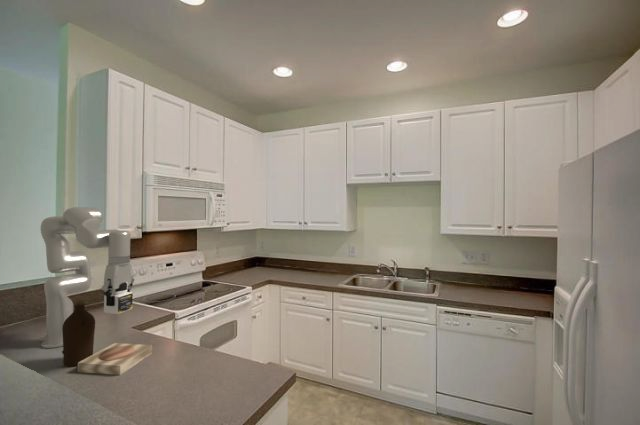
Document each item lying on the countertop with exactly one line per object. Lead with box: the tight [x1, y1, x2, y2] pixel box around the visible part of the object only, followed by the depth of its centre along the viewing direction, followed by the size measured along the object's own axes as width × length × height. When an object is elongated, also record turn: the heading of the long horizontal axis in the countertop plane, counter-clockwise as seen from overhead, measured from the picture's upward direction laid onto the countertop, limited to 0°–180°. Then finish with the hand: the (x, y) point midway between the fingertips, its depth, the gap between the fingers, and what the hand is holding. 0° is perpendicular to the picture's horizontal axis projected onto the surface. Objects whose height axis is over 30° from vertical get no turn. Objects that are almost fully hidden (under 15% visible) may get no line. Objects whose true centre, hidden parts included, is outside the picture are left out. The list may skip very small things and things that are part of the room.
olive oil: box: [61, 299, 96, 368], centre depth 122 cm, size 11×11×25 cm
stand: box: [77, 342, 153, 376], centre depth 122 cm, size 18×18×4 cm
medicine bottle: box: [103, 282, 133, 315], centre depth 122 cm, size 7×7×12 cm
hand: (118, 302), depth 122 cm, fingers closed on medicine bottle, 7 cm apart
